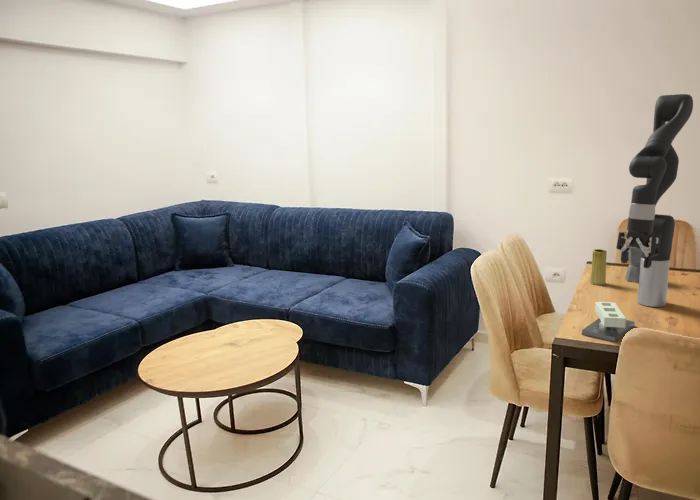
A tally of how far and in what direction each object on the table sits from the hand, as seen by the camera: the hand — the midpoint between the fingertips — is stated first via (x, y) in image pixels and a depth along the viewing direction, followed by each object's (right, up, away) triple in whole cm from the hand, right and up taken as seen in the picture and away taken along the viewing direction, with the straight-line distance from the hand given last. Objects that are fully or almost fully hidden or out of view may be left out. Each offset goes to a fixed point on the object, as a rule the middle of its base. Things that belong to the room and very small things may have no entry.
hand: (635, 265), depth 178 cm
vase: (+9, -9, +46) cm, 48 cm away
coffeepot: (+27, -8, +49) cm, 57 cm away
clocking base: (-12, -21, -6) cm, 25 cm away
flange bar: (-12, -17, -6) cm, 22 cm away
